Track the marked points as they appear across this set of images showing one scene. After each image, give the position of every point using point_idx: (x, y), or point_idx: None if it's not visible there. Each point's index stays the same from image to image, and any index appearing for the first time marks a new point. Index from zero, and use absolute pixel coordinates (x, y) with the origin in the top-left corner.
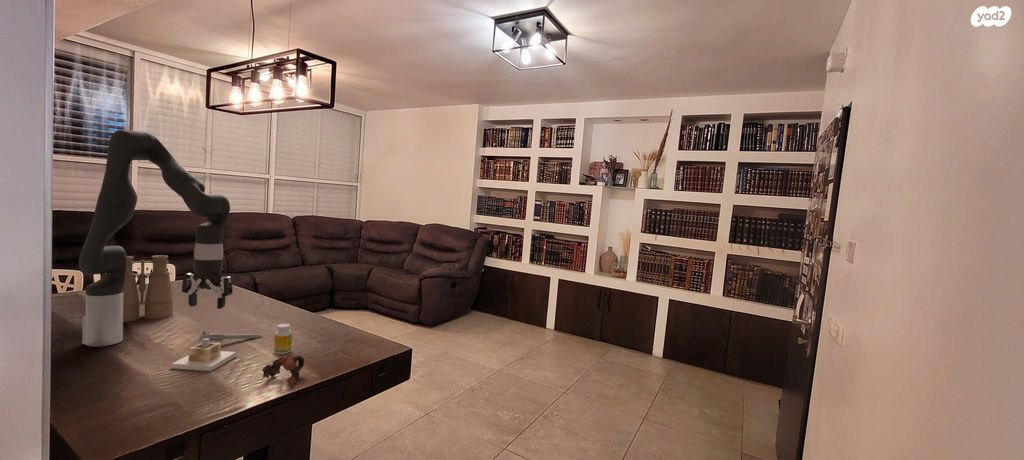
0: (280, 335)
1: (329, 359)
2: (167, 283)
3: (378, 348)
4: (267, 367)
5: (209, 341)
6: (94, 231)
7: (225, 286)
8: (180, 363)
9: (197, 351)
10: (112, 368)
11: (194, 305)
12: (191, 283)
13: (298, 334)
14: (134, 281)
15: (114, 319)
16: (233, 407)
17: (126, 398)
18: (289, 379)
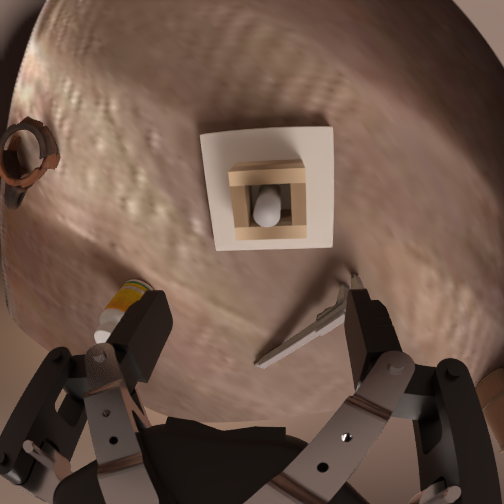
0: (108, 310)
1: (44, 269)
2: (499, 433)
3: (34, 324)
4: (16, 126)
5: (339, 299)
6: None
7: (27, 409)
8: (307, 132)
9: (270, 166)
10: (462, 113)
11: (346, 309)
12: (420, 462)
13: (191, 380)
14: None
15: None
16: (48, 25)
17: None
18: (11, 139)
